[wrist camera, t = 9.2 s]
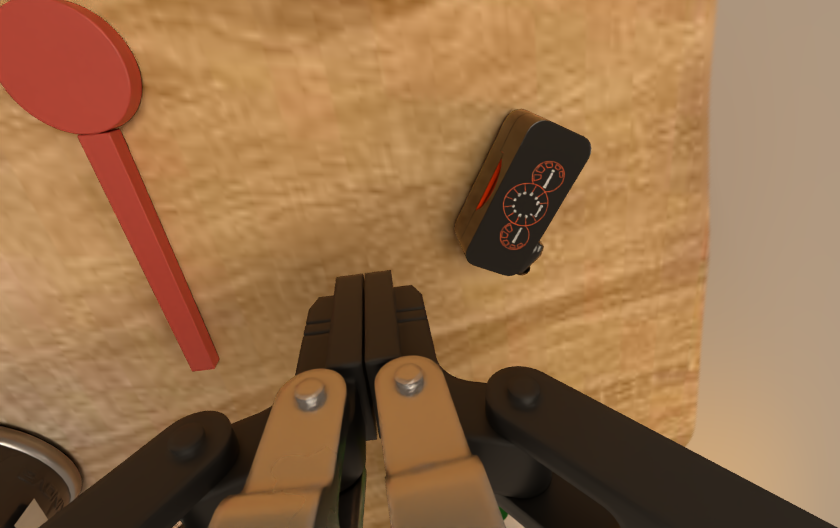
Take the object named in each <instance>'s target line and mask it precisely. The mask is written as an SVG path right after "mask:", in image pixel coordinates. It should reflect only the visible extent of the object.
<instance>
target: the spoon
mask: <svg viewBox="0 0 840 528" xmlns="http://www.w3.org/2000/svg"><path fill="white" fill-rule="evenodd" d="M0 83H1V84H2V86H3V87H4V88H5V90H6V91H7V92H8V94H9V95H10V96H11V97H12V98H13V99H14V100H15V101H16V102H17V103H18V104H19V105H20V106H21V107H22V108H23V109H24V110H26V111H27V112H28V113H30V114H31V115H32V116H34V117H35V118H37V119H38V120H40V121H42V122H44V123H46V124H47V125H49V126H52V127H54V128H56V129H59V130H62V131H66V132H70V133H74V134H81V135H78V139H79V141H80V143H81V145H82V147H83V149H84V151H85V153H86V155H87V157H88V159H89V161H90V163H91V165H92V167H93V169H94V171H95V174H96V176H97V178H98V180H99V182H100V184H101V186H102V188H103V190H104V192H105V194H106V196H107V198H108V200H109V202H110V204H111V206H112V208H113V210H114V212H115V214H116V216H117V219H118V221H119V223H120V225H121V227H122V229H123V231H124V233H125V235H126V237H127V239H128V241H129V243H130V245H131V247H132V249H133V251H134V253H135V255H136V257H137V259H138V261H139V263H140V266H141V268H142V270H143V272H144V274H145V276H146V278H147V280H148V282H149V284H150V286H151V288H152V290H153V292H154V294H155V296H156V298H157V300H158V302H159V304H160V306H161V308H162V311H163V313H164V315H165V317H166V319H167V321H168V323H169V325H170V327H171V329H172V331H173V333H174V335H175V337H176V339H177V341H178V343H179V345H180V347H181V349H182V351H183V353H184V355H185V358H186V360H187V362H188V364H189V366H190V368H191V370H192V371H201V370H209V369H215V367H216V365H217V363H218V361H219V357H218V355H217V352H216V350H215V348H214V345H213V343H212V341H211V338H210V336H209V334H208V332H207V329H206V327H205V325H204V322H203V320H202V318H201V315H200V313H199V311H198V308H197V306H196V304H195V302H194V299H193V297H192V295H191V292H190V290H189V288H188V285H187V283H186V281H185V278H184V276H183V274H182V272H181V269H180V267H179V265H178V262H177V260H176V258H175V255H174V253H173V251H172V248H171V246H170V244H169V242H168V239H167V237H166V235H165V232H164V230H163V228H162V225H161V223H160V221H159V218H158V216H157V214H156V212H155V209H154V207H153V205H152V202H151V200H150V198H149V195H148V193H147V191H146V188H145V186H144V184H143V182H142V179H141V177H140V175H139V172H138V170H137V168H136V165H135V163H134V161H133V158H132V156H131V154H130V152H129V149H128V147H127V145H126V142H125V140H124V138H123V135H122V133H121V131H120V129H114V128H117V127H119V126H121V125H123V124H124V123H126V122H127V121H129V120H130V119H131V117H132V116H133V115H134V114H135V112H136V111H137V109H138V106H139V104H140V100H141V94H142V82H141V76H140V72H139V69H138V65H137V63H136V61H135V58H134V56H133V54H132V53H131V51H130V49H129V47H128V46H127V45H126V43H125V42H124V40H123V39H122V38H121V37H120V35H119V34H118V33H117V32H116V31H115V30H114V29H113V28H112V27H111V26H110V25H109V24H108V23H107V22H105V21H104V20H103V19H102V18H100V17H99V16H97V15H96V14H94V13H93V12H91V11H90V10H88V9H86V8H84V7H82V6H80V5H77V4H75V3H72V2H69V1H65V0H10V1H8V2H7V3H5V4H3V5H2V6H1V7H0ZM111 129H114V130H111Z"/></svg>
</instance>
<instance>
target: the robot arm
mask: <svg viewBox="0 0 840 528" xmlns="http://www.w3.org/2000/svg"><path fill="white" fill-rule="evenodd" d="M376 422H377V427H378V432H379V437H380V439H381V440H382V447H383V455H384V463H385V471H386V476H385V482H386V491H387V499H388V507H389V515H390V523H391V528H506V526H505V523H504V521H503V518H502V515H501V512H500V510H499V507H500V508H502V509H503V510H504V511H505V512H506V513H508V514H509V515H510V516H511V517H512V518H514V519H515V520H516V521H517V522H518V523H520V524H521V525H522V526H523V527H525V528H837V527H835V526H833V525H832V524H830V523H828V522H826V521H824V520H822V519H820V518H818V517H816V516H814V515H813V514H810V513H809V512H807V511H805V510H803V509H801V508H799V507H797V506H796V505H793V504H792V503H790V502H788V501H786V500H784V499H782V498H780V497H778V496H777V495H775V494H773V493H771V492H769V491H767V490H765V489H763V488H761V487H759V486H757V485H756V484H754V483H752V482H750V481H748V480H746V479H744V478H742V477H740V476H739V475H737V474H735V473H733V472H731V471H729V470H727V469H725V468H723V467H721V466H720V465H718V464H716V463H714V462H712V461H710V460H708V459H706V458H704V457H702V456H701V455H699V454H697V453H695V452H693V451H691V450H689V449H687V448H685V447H683V446H682V445H680V444H678V443H676V442H674V441H672V440H670V439H668V438H666V437H664V436H663V435H661V434H659V433H657V432H655V431H653V430H651V429H649V428H647V427H645V426H644V425H642V424H640V423H638V422H636V421H634V420H632V419H630V418H628V417H626V416H625V415H623V414H621V413H619V412H617V411H615V410H613V409H611V408H609V407H607V406H606V405H604V404H602V403H600V402H598V401H596V400H594V399H592V398H590V397H588V396H587V395H585V394H583V393H581V392H579V391H577V390H575V389H573V388H571V387H569V386H568V385H566V384H564V383H562V382H560V381H558V380H556V379H554V378H552V377H550V376H549V375H547V374H545V373H543V372H541V371H538V370H536V369H533V368H529V367H521V366H515V367H508V368H504V369H501V370H500V371H498V372H496V373H495V374H493V375H492V376H491V378H490V379H489V380H488V382H487V383H481V382H473V381H466V380H462V379H459V378H456V377H454V376H452V375H450V374H448V373H447V372H446V371H445V370H443V369H442V367H441V366H440V365H439V363H438V361H437V358H436V354H435V350H434V345H433V341H432V337H431V332H430V328H429V323H428V319H427V315H426V310H425V306H424V302H423V297H422V294H421V293H420V292H419V291H418V290H417V289H416V288H415V287H413V286H412V285H409V286H401V287H393V282H392V274H391V270H387V271H379V272H371V273H365V279H364V275H363V274H357V275H349V276H341V277H337V278H336V283H335V291H334V295H333V296H326V297H319V298H318V299H317V301H316V302H315V303H314V304H313V305H312V307H311V308H310V309H309V312H308V316H307V321H306V326H305V330H304V336H303V340H302V345H301V349H300V354H299V359H298V363H297V368H296V373H295V376H294V377H293V378H291V379H290V380H288V381H287V382H286V383H285V384H284V385H283V386H282V387H281V388H280V390H279V391H278V393H277V395H276V398H275V400H274V403H273V406H271V407H269V408H268V409H266V410H264V411H262V412H260V413H258V414H255V415H253V416H250V417H248V418H245V419H243V420H240V421H238V422H235V423H233V424H231V423H230V421H229V419H228V418H227V417H226V416H225V415H224V414H222V413H220V412H216V411H202V412H198V413H194V414H191V415H188V416H186V417H184V418H182V419H180V420H178V421H176V422H175V423H173V424H172V425H170V426H169V427H168V428H166V429H165V430H164V431H162V432H161V433H160V434H158V435H157V436H156V437H155V438H153V439H152V440H151V441H149V442H148V443H147V444H146V445H144V446H143V447H142V448H140V449H139V450H138V451H137V452H135V453H134V454H133V455H131V456H130V457H129V458H127V459H126V460H125V461H124V462H122V463H121V464H120V465H118V466H117V467H116V468H115V469H113V470H112V471H111V472H109V473H108V474H107V475H105V476H104V477H103V478H102V479H100V480H99V481H98V482H96V483H95V484H94V485H93V486H91V487H90V488H89V489H87V490H86V491H85V492H84V493H82V494H81V495H80V496H78V495H79V494H80V491H81V488H82V479H81V475H80V473H79V471H78V469H77V467H76V466H75V465H74V463H73V462H72V461H71V460H70V459H69V458H68V457H67V456H66V455H65V454H63V453H62V452H61V451H59V450H58V449H57V448H55V447H53V446H52V445H50V444H48V443H46V442H45V441H43V440H41V439H38V438H36V437H34V436H31V435H29V434H26V433H23V432H20V431H17V430H14V429H10V428H6V427H2V426H0V528H172V527H173V526H174V525H175V524H176V523H177V522H178V521H179V520H180V521H181V522H182V525H181V526H180V527H179V528H363V515H364V502H365V489H366V468H365V462H366V441H369V440H375V439H377V427H376ZM498 506H499V507H498Z"/></svg>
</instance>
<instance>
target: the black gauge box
mask: <svg viewBox="0 0 840 528" xmlns="http://www.w3.org/2000/svg"><path fill="white" fill-rule="evenodd" d="M590 154H591V144H590V142H589V140H588V139H587V138H585V137H584V136H581V135H579V134H577V133H575V132H573V131H571V130H569V129H566V128H564V127H562V126H560V125H558V124H556V123H553V122H551V121H549V120H547V119H545V118H543V117H540V116H538V115H536V114H534V113H532V112H529V111H527V110H524V109H517V110H514V111H512V112H511V113H509V114H508V116H507V117H506V119H505V121H504V123H503V125H502V127H501V129H500V131H499V133H498V135H497V137H496V139H495V142H494V144H493V146H492V148H491V150H490V152H489V154H488V156H487V158H486V160H485V162H484V164H483V166H482V168H481V171H480V173H479V175H478V177H477V179H476V181H475V183H474V185H473V187H472V189H471V191H470V193H469V195H468V197H467V200H466V202H465V204H464V206H463V208H462V210H461V212H460V214H459V216H458V218H457V220H456V222H455V226H454V227H455V233H456V236H457V238H458V240H459V242H460V245H461V247H462V249H463V252H464V254H465V256H466V259H467V261H468V262H469V263H470V264H472V265H474V266H477V267H480V268H483V269H486V270H489V271H493V272H496V273H499V274H502V275H506V276H512V275H515V274H517V275H525V274H527V273H528V272H529V271H530V265H531V264H532V263H534V262H535V261H536V260H537V259H538V258H539V257H540V256H541V254H542V251H543V248H544V246H543V244H542V243H541V241H540V239H541V237H542V236H543V234H544V232H545V231H546V229H547V227H548V226H549V224H550V222H551V221H552V219H553V217H554V216H555V214H556V212H557V211H558V209H559V207H560V206H561V204H562V202H563V200H564V199H565V197H566V195H567V194H568V192H569V190H570V189H571V187H572V185H573V184H574V182H575V180H576V179H577V177H578V175H579V174H580V172H581V170H582V169H583V167H584V165H585V164H586V162H587V160H588V159H589V156H590Z"/></svg>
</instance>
